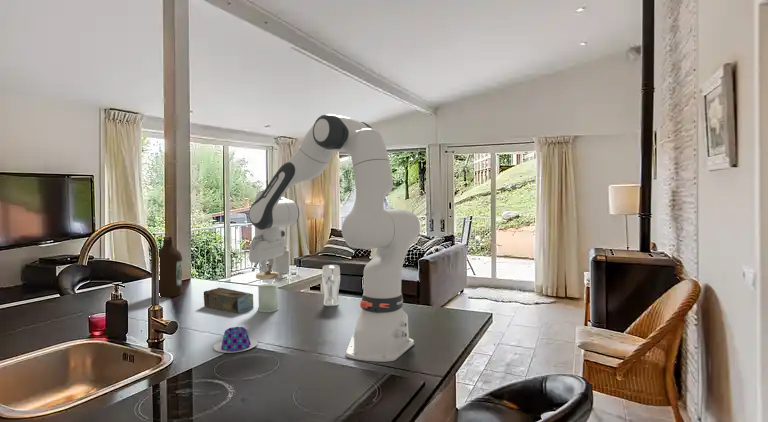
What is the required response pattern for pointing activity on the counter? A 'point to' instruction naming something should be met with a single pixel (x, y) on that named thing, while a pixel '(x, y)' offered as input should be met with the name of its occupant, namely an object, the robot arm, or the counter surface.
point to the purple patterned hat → (235, 341)
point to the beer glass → (331, 284)
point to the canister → (268, 298)
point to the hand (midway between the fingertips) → (267, 270)
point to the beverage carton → (228, 300)
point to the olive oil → (170, 270)
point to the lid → (267, 274)
